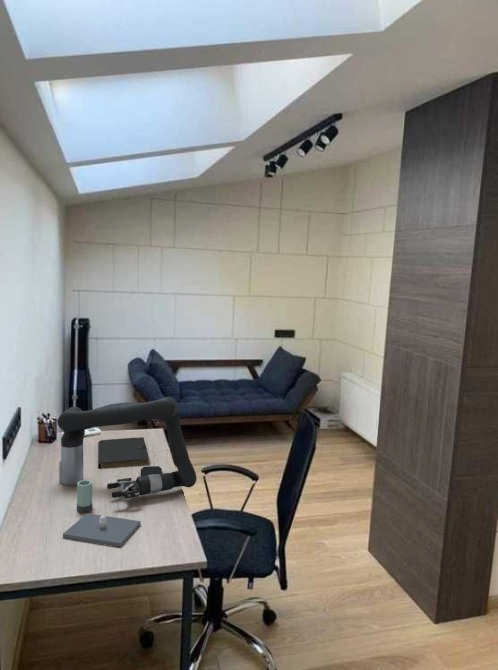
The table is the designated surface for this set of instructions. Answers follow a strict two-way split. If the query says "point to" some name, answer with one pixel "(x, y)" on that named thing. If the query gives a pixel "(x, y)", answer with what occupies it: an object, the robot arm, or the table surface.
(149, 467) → the carrying case or bag
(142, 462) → the dark grey book
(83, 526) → the pin board
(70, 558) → the table surface
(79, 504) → the sleeve
